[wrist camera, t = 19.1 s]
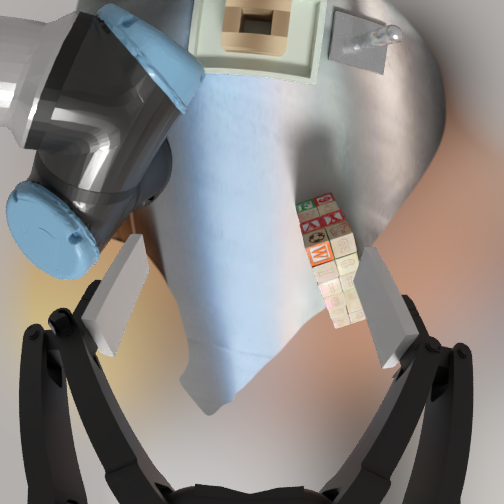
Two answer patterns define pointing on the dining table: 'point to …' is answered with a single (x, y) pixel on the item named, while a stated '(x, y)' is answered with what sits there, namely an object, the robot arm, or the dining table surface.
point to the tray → (298, 41)
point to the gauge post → (361, 42)
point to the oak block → (258, 9)
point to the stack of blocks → (331, 257)
